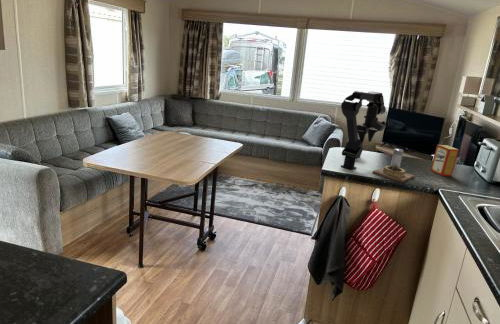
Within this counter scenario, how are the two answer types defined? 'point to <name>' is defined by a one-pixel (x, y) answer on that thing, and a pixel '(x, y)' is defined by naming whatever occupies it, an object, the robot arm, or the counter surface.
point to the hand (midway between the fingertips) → (365, 142)
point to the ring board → (393, 174)
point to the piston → (396, 159)
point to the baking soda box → (444, 160)
